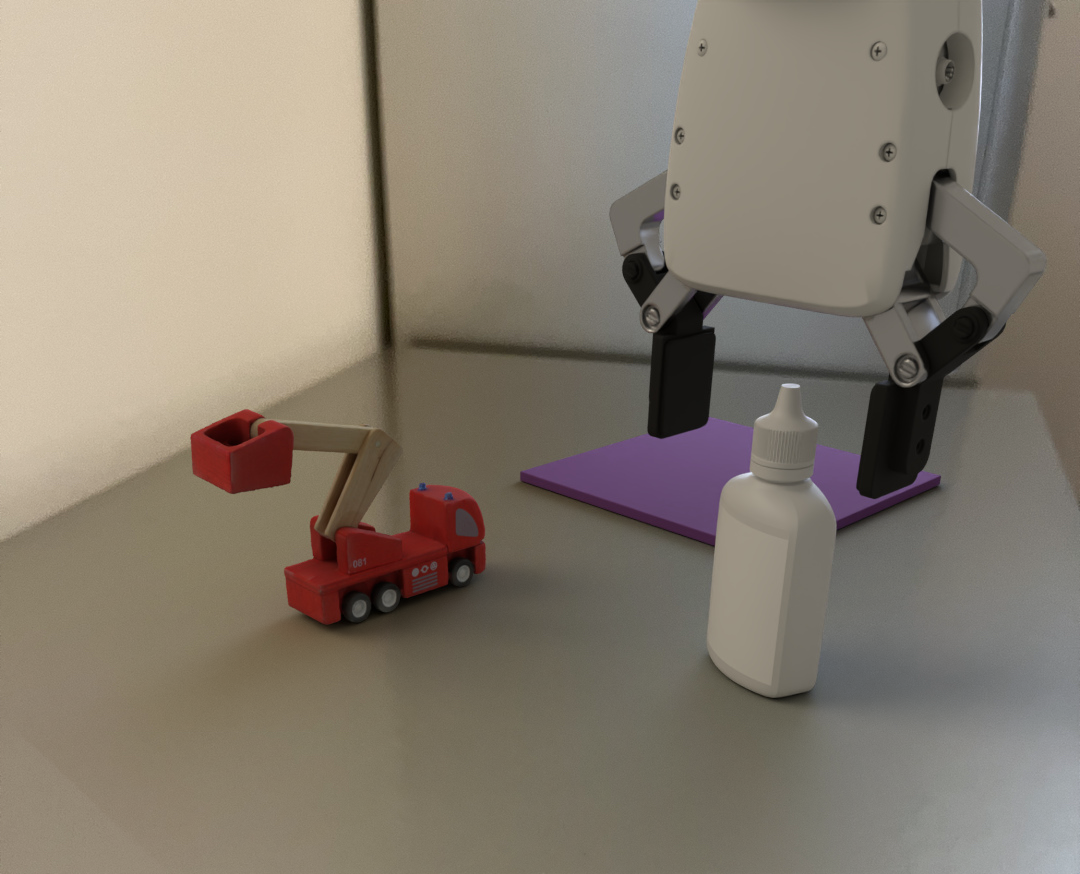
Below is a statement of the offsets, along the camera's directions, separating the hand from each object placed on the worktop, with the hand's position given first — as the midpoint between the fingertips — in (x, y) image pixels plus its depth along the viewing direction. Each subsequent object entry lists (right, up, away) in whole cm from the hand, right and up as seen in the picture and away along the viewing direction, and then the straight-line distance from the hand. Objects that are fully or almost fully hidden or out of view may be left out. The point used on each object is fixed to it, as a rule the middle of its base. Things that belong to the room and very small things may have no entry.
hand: (775, 458), depth 46 cm
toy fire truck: (-17, -5, +10) cm, 21 cm away
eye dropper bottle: (0, -8, +5) cm, 9 cm away
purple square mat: (+2, +4, +26) cm, 27 cm away
